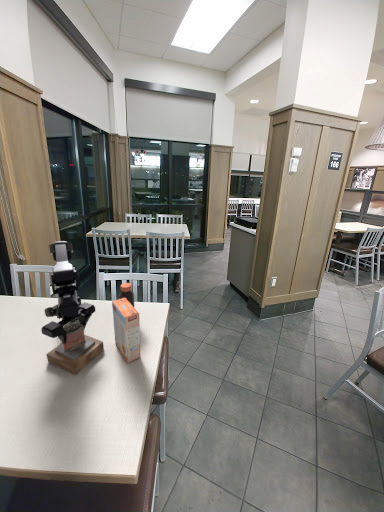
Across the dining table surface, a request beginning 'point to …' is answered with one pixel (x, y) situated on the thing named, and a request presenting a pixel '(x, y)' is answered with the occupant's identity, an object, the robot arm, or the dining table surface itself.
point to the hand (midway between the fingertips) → (73, 337)
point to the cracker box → (126, 329)
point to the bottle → (127, 293)
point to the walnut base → (75, 355)
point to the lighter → (74, 336)
